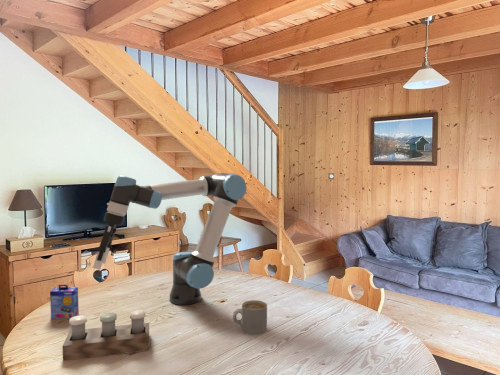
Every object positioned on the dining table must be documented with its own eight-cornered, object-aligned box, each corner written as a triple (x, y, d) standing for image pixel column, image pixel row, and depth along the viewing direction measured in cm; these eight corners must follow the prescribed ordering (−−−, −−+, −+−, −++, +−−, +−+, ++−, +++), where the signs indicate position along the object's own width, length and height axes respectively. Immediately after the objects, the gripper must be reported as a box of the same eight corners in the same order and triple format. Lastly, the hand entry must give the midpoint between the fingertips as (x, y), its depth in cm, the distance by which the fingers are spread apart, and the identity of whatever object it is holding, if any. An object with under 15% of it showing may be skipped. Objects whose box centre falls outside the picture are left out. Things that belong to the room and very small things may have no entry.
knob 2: (145, 327, 142) (145, 309, 141) (145, 334, 136) (145, 315, 136) (130, 329, 140) (129, 310, 140) (129, 336, 135) (129, 316, 134)
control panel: (149, 335, 145) (149, 322, 145) (149, 350, 134) (149, 336, 134) (70, 343, 138) (69, 330, 138) (62, 360, 127) (62, 346, 126)
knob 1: (88, 333, 137) (88, 314, 136) (85, 340, 131) (85, 321, 131) (71, 335, 135) (71, 316, 135) (68, 342, 130) (67, 322, 129)
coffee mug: (267, 324, 156) (268, 300, 155) (265, 335, 146) (265, 310, 145) (235, 322, 158) (235, 299, 157) (231, 333, 148) (231, 308, 147)
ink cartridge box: (50, 319, 159) (49, 285, 158) (55, 314, 165) (54, 281, 164) (74, 318, 160) (73, 285, 159) (79, 313, 166) (78, 281, 165)
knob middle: (117, 330, 139) (117, 312, 139) (116, 337, 134) (116, 318, 133) (101, 332, 138) (101, 313, 137) (99, 339, 132) (99, 319, 132)
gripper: (110, 210, 163) (94, 258, 161) (101, 212, 138) (83, 269, 136) (127, 215, 164) (112, 262, 162) (122, 217, 140) (104, 274, 138)
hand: (99, 265), depth 149 cm, fingers open, 13 cm apart
